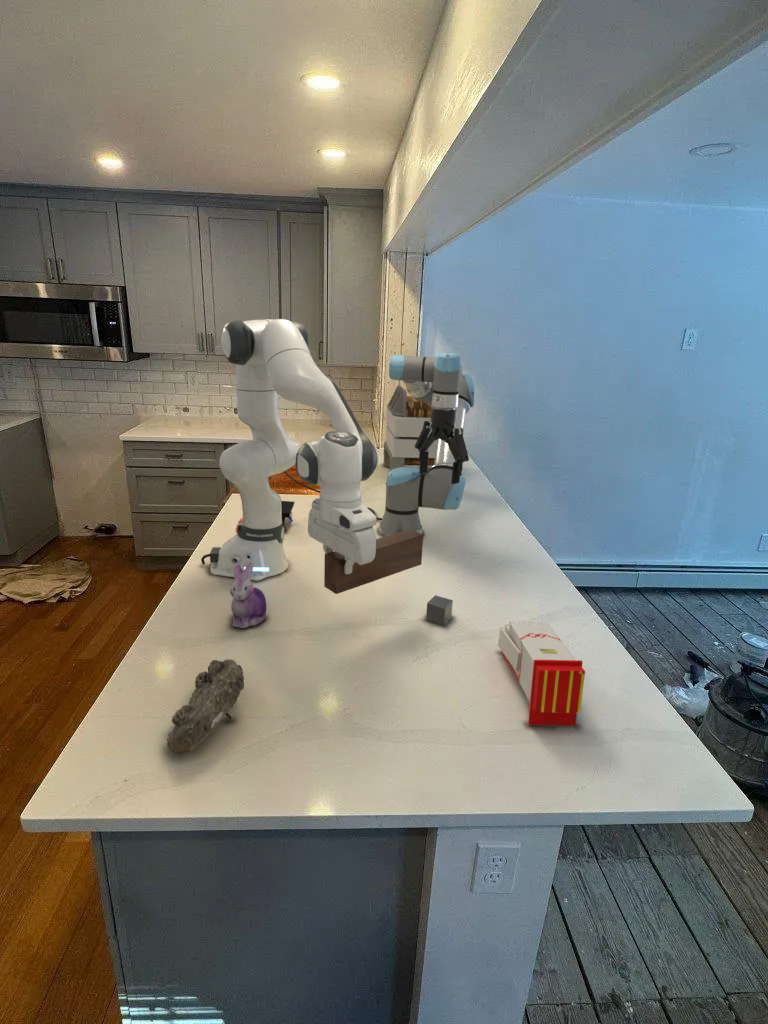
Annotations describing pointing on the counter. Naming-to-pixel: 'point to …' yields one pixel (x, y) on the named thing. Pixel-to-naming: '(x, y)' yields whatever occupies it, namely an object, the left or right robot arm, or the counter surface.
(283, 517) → the figurine character
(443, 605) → the slate block
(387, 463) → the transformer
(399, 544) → the walnut plank
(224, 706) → the fossil
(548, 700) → the toy
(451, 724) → the counter surface
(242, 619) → the figurine
